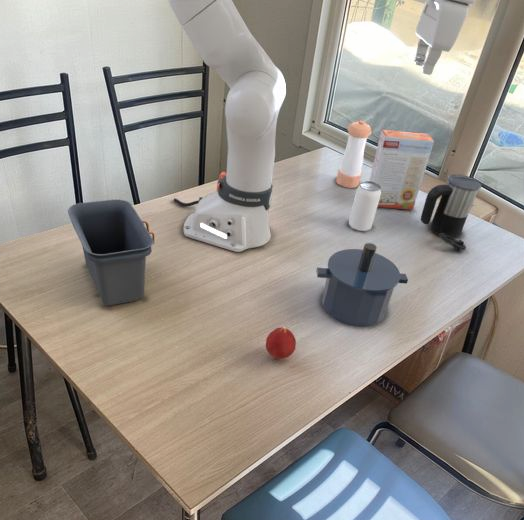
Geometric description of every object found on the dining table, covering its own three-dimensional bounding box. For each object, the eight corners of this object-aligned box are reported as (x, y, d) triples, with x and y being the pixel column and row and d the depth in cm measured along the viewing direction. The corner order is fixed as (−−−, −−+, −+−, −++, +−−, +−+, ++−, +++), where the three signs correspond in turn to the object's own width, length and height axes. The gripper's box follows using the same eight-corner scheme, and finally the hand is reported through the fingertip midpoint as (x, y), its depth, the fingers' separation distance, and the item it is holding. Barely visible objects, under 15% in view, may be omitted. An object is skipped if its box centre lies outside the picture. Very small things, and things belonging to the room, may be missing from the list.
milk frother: (444, 219, 158) (463, 171, 148) (486, 246, 148) (508, 197, 138) (410, 228, 151) (427, 179, 141) (451, 257, 142) (472, 206, 132)
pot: (307, 284, 125) (314, 249, 119) (388, 289, 127) (400, 255, 121) (314, 323, 114) (322, 287, 108) (403, 329, 116) (416, 294, 110)
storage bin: (72, 261, 121) (63, 203, 112) (139, 250, 127) (136, 195, 118) (95, 317, 108) (87, 257, 98) (168, 302, 114) (168, 245, 104)
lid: (322, 251, 120) (328, 224, 115) (389, 256, 121) (398, 230, 117) (332, 292, 108) (339, 264, 104) (406, 297, 110) (416, 270, 105)
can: (370, 233, 146) (382, 193, 138) (347, 229, 147) (357, 188, 139) (371, 223, 151) (383, 183, 143) (349, 218, 151) (359, 178, 143)
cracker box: (408, 201, 164) (430, 133, 150) (412, 211, 159) (435, 141, 145) (363, 197, 163) (381, 127, 149) (367, 206, 158) (385, 136, 144)
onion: (260, 349, 106) (264, 318, 101) (287, 346, 108) (293, 315, 103) (268, 369, 102) (273, 338, 97) (296, 365, 104) (303, 335, 99)
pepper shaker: (363, 186, 168) (378, 124, 156) (344, 189, 165) (359, 126, 153) (349, 176, 173) (363, 115, 160) (331, 179, 170) (344, 117, 157)
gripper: (424, -21, 105) (399, 56, 113) (445, -15, 89) (414, 75, 97) (454, -14, 105) (427, 63, 114) (481, -6, 89) (447, 83, 98)
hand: (421, 69), depth 105 cm, fingers open, 8 cm apart
